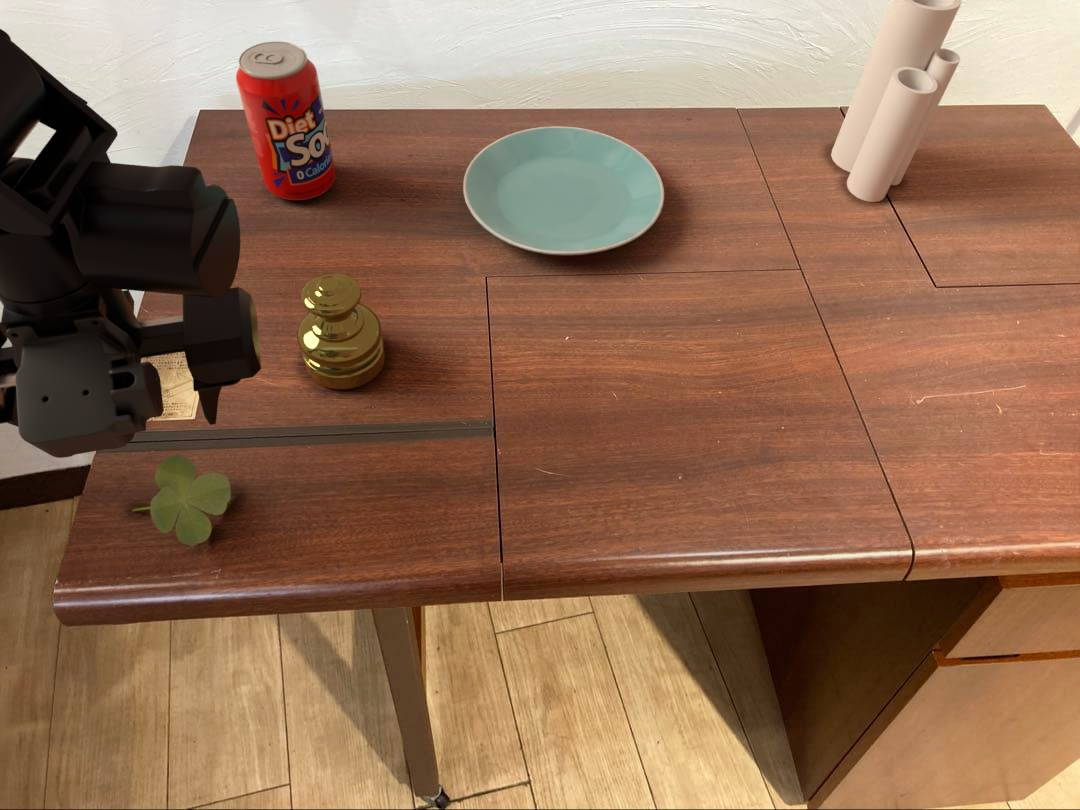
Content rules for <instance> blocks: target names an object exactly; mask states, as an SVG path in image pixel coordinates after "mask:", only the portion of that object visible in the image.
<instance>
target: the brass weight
mask: <svg viewBox="0 0 1080 810" xmlns="http://www.w3.org/2000/svg"><path fill="white" fill-rule="evenodd" d="M300 296H301V297H300V298H301V299H300V300H301V304H302V305H303V307H304V309H305V310H306V311H308V312H306V314H305V315H304V316H303V317H302V319H301V320H300V322H299V324H298V327H297V329H296V330H297V331H296V339H297V340H296V341H297V343H298V346H299V348H300V349H301V350H300V352H301V353H300V354H301V357H302V360H303V362H304V366H305V368H306V371H307V373H308V375H309V377H310V378H311V379H312V380H313V381H314V382H316V383H317V384H319V385H321V386H323V387H326V388H328V389H333V390H350V389H351V390H352V389H356V388H359V387H361V386H363V385H366V384H368V383H369V382H371V381H372V380H373V379H375V378H376V377H377V376H378V374H380V372H381V371H382V369H383V367H384V364H385V360H386V354H385V347H384V345H385V343H384V342H385V341H384V337H383V334H382V325H381V320H380V319H379V317H378V316H377V314H376V313H375V312H374V311H373V310H372V309H371V308H370V307H368V306H367V305H365V304H362V303H360V301H361V299H362V290H361V287H360V285H359V283H358V282H357V280H356V279H355V278H353V277H351V276H350V275H348V274H346V273H345V274H344V273H340V272H327V273H322V274H319V275H316V276H313V278H311V279H310V280H309V281H307V282H306V283H305V284H304V286H303V287H302V290H301V293H300Z"/></svg>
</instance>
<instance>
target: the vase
mask: <svg viewBox="0 0 1080 810" xmlns="http://www.w3.org/2000/svg"><path fill="white" fill-rule="evenodd" d="M962 1H963V0H890V2H889V5H888V7H887V10H886V12H885V15H884V18H883V20H882V23H881V26H880V28H879V31H878V33H877V35H876V38H875V40H874V42H873V45H872V48H871V50H870V53H869V56H868V59H867V61H866V64H865V66H864V68H863V70H862V74H861V76H860V78H859V81H858V83H857V85H856V89H855V90H854V93H853V96H852V99H851V101H850V104H849V106H848V109H847V112H846V115H845V117H844V119H843V122H842V124H841V126H840V130H839V131H838V134H837V136H836V138H835V142H834V145H833V147H832V150H831V154H830V156H831V159H832V161H833V163H834V164H835V165H836V166H837V167H838V168H840V169H841V170H844V171H846V172H847V173H849V175H848V178H847V180H846V187H847V190H848V191H849V192H850V194H852V195H853V196H854V197H855V198H857V199H859V200H861V201H865V202H867V203H876V202H877V203H878V202H880V201H882V200H884V198H885V197H886V196H887V194H888V191H889V189H890V187H891V186H897V185H899V184H900V183H901V182H902V180H903V178H904V176H905V174H906V171H907V170H908V167H909V166H910V165H911V164H910V163H911V161H912V160H913V158H914V156H915V153H916V151H917V149H918V147H919V146H920V143H921V141H922V139H923V137H924V136H925V133H926V131H927V129H928V127H929V125H930V123H931V121H932V119H933V116H934V114H935V113H936V110H937V109H938V107H939V105H940V102H941V100H942V98H943V96H944V94H945V92H946V90H947V88H948V86H949V84H950V82H951V80H952V78H953V77H954V76H953V75H954V74H955V72H956V70H957V68H958V66H959V64H960V62H961V57H960V55H959V54H958V53H956V52H955V51H953V50H951V49H948V48H942V45H943V44H944V42H945V39H946V37H947V35H948V33H949V30H950V28H951V26H952V24H953V22H954V20H955V18H956V15H957V13H958V11H959V9H960V7H961V5H962Z"/></svg>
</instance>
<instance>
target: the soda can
mask: <svg viewBox="0 0 1080 810" xmlns="http://www.w3.org/2000/svg"><path fill="white" fill-rule="evenodd" d="M238 65H239V66H238V69H237V71H236V74H235V81H236V85H237V89H238V93H239V96H240V99H241V103H242V108H243V111H244V114H245V115H244V116H245V119H246V122H247V125H248V130H249V133H250V138H251V141H252V143H253V144H252V145H253V148H254V151H255V155H256V160H257V162H258V163H257V164H258V166H259V170H260V174H261V177H262V181H263V185H264V187H265V188H266V189H267V191H268V192H269V193H270V194H272V195H274V196H275V197H277V198H280V199H282V200H283V199H284V200H289V201H306V200H310V199H313V198H316V197H319V196H320V195H323V194H324V193H326V192H327V191H328V190H329V189H330V188H332V186H333V184H334V182H335V181H336V167H335V162H334V156H333V152H332V146H331V140H330V135H329V129H328V123H327V117H326V112H325V107H324V103H323V102H324V101H323V95H322V91H321V86H320V80H319V75H318V70H317V68H316V66H315V64H314V63H313V62H312V61H311V60H310V59H309V58H308V54H307V53H306V51H305V49H303V48H302V47H300V46H299V45H297V44H295V43H291V42H289V41H265V42H261V43H257V44H255V45H252V46H250V47H248V48H246V49H245V50H244V51H243V52H242V53H241V54H240V56H239V59H238Z"/></svg>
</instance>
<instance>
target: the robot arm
mask: <svg viewBox="0 0 1080 810" xmlns="http://www.w3.org/2000/svg"><path fill="white" fill-rule="evenodd" d="M88 103H89V102H88V101H87V100H85V98H82V97H81V96H80V95H78V94H76V93H75V92H73V91H72V90H70V89H69V88H68V87H67V86H66V85H65V84H63V83H62V82H61V81H60V80H59V79H58V78H57V77H55V76H54V75H53V74H51V73H50V72H49V71H48V70H46V69H45V68H44V67H43V66H42V65H41V64H40V63H39V62H37V61H36V60H35V59H34V58H33V57H31V56H30V55H29V54H28V53H27V52H25V51H24V50H23V49H22V48H21V47H19V45H17V44H16V43H15V42H14V41H12V38H11V36H10V34H9V33H7V32H6V31H5V30H3V29H2V28H0V303H1V305H2V306H3V308H2V314H1V319H0V425H2V424H9V425H13V426H15V427H17V428H18V433H19V436H20V438H21V439H22V440H23V441H24V442H26V443H28V444H29V445H31V446H33V447H35V448H37V449H39V450H40V451H42V452H44V453H46V454H48V455H49V456H52V457H54V458H58V459H63V458H70V457H73V456H76V455H81V454H87V453H93V452H98V451H105V450H115V449H119V448H120V449H121V448H123V447H126V446H127V445H128V444H130V443H131V441H132V440H133V438H134V437H135V434H136V433H142V432H146V430H147V422H148V420H150V419H153V418H159V417H162V415H163V413H164V401H163V393H162V383H161V376H160V374H159V370H158V369H157V368H156V367H155V366H154V364H153V363H151V362H150V361H144V362H143V361H142V359H145V358H153V357H159V356H164V355H171V354H177V353H183V352H184V356H185V360H186V366H187V368H188V371H189V373H190V376H191V377H192V387H193V391H194V392H197V394H198V397H199V398H198V399H199V401H200V405H201V409H202V412H203V415H204V418H205V419H206V421H207V423H208V425H210V426H213V425H216V424H217V416H218V406H219V397H220V394H221V390H222V388H224V387H231V386H235V385H237V384H239V383H240V382H241V380H244V379H245V380H246V379H250V378H251V379H252V378H254V377H255V376H256V375H257V374H258V373H259V372H260V371H261V370H262V361H261V349H260V339H259V327H258V326H259V325H258V313H257V310H256V306H255V303H254V299H253V297H252V294H251V293H250V292H248V291H246V290H245V289H244V288H242V287H239V286H236V287H232V286H233V283H234V281H235V278H236V275H237V271H238V267H239V262H240V255H241V227H240V219H239V218H240V217H239V213H238V209H237V206H236V202H235V200H234V198H230V197H229V196H228V193H227V192H226V190H224V189H223V187H222V186H220V185H217V184H213V183H212V184H211V183H206V181H205V179H204V177H203V174H202V171H201V170H200V169H198V168H197V166H186V165H173V164H172V165H164V166H152V165H151V166H150V165H140V164H130V163H129V164H127V163H118V162H117V163H116V162H112V161H111V159H110V157H109V155H108V151H109V149H110V148H111V146H112V145H113V143H114V142H115V140H116V138H117V137H118V130H117V129H116V128H115V127H114V125H113V126H112V124H110V123H109V122H108V121H107V120H106V119H105V118H103V117H102V116H101V115H100V114H99V113H97V112H96V111H95V110H94V109H93V108H92V107H90V105H88ZM39 123H40V124H42V125H44V126H46V127H48V128H50V129H51V130H54V131H55V132H53V134H52V135H51V137H50V138H49V139H48V141H47V142H46V144H45V145H44V146H43V148H42V149H41V150H40V152H39V153H38V154H37V156H36V157H35V158H29V157H20V156H19V157H18V156H14V155H15V154H16V152H17V151H18V150H19V148H20V147H21V146H22V145H23V143H25V141H26V139H27V138H28V137H29V136H30V135H31V133H32V131H34V129H35V128H36V127H37V125H38V124H39ZM131 291H133V292H146V293H155V294H156V293H157V294H169V295H179V296H182V314H180V315H179V314H178V315H173V316H167V317H166V316H165V317H158V318H151V319H147V320H146V319H145V320H139V321H138V319H137V316H136V315H135V300H134V298H133V296H132V294H131ZM7 341H9V342H10V343H11V346H7V347H6V346H5V347H3V346H4V345H5V344H6V342H7Z"/></svg>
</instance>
